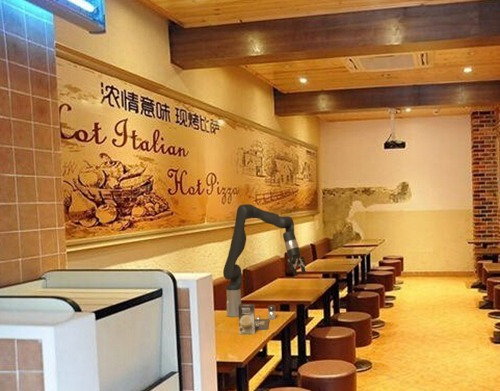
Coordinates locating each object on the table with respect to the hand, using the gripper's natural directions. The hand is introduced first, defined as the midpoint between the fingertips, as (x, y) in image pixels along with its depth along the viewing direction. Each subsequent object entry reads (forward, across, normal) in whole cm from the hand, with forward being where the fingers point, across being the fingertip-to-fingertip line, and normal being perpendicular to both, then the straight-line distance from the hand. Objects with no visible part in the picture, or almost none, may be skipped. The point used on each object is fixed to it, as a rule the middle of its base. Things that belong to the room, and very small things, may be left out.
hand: (300, 274), depth 344 cm
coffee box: (+24, +29, -26) cm, 46 cm away
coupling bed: (+21, +11, -33) cm, 41 cm away
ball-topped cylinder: (+20, -8, -36) cm, 42 cm away
